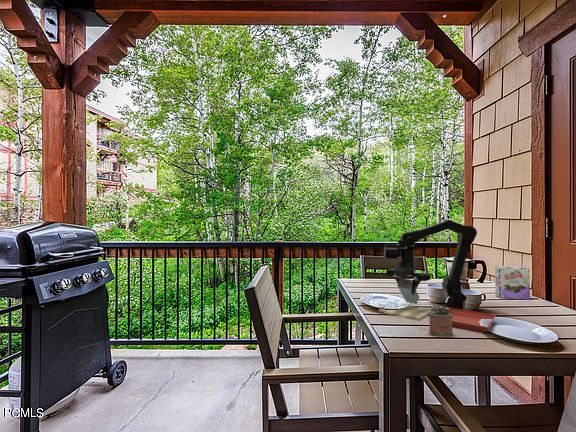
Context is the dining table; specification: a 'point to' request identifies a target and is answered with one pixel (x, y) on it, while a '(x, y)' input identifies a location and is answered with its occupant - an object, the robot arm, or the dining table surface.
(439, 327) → the reddish brown box
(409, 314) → the birch board
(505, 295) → the candy box
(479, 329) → the red flat slab
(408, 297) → the slate block
